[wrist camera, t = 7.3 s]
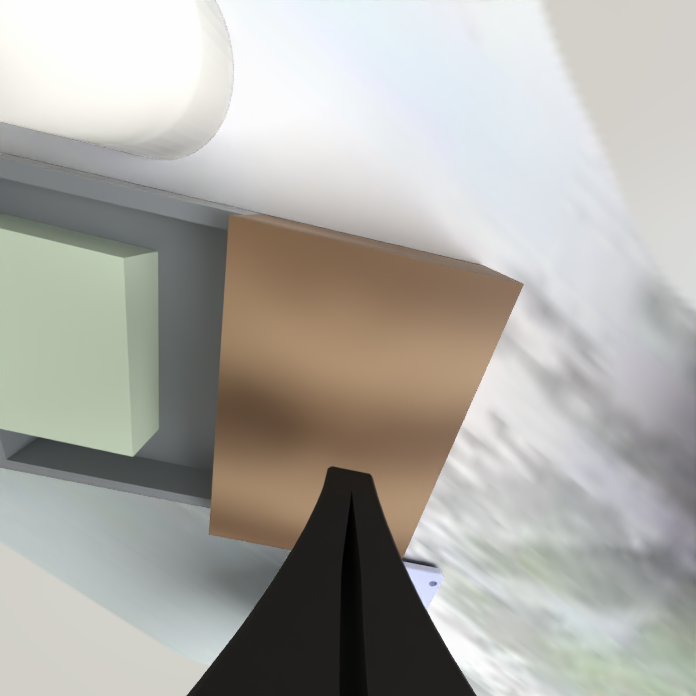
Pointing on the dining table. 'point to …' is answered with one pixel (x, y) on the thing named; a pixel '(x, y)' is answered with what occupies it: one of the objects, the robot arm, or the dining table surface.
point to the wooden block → (342, 372)
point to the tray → (173, 324)
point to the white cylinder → (117, 72)
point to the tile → (78, 337)
